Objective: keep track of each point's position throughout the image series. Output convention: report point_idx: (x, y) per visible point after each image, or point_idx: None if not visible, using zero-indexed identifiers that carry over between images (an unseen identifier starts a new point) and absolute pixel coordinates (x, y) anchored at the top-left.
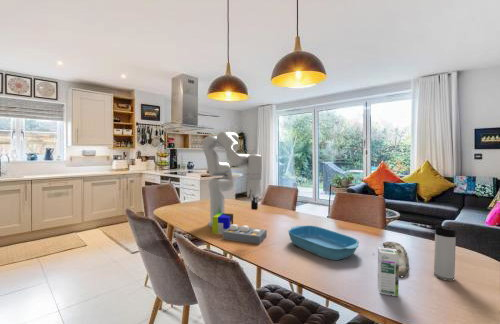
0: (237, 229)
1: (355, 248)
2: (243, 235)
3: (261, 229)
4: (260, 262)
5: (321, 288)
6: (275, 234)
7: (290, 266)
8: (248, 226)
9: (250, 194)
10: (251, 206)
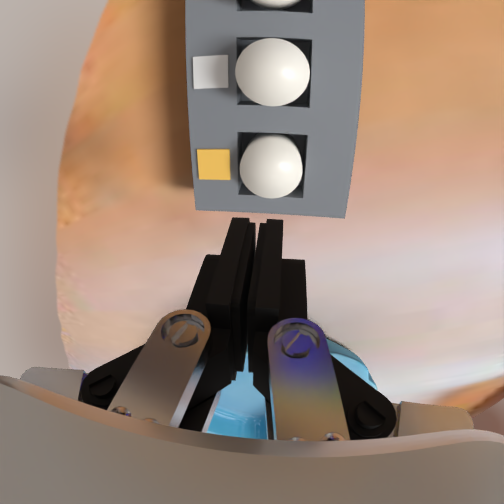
0: (282, 6)
1: (237, 429)
2: (189, 94)
3: (347, 183)
4: (61, 244)
5: (69, 353)
6: (389, 235)
7: (96, 316)
8: (285, 101)
9: (116, 502)
10: (223, 245)
